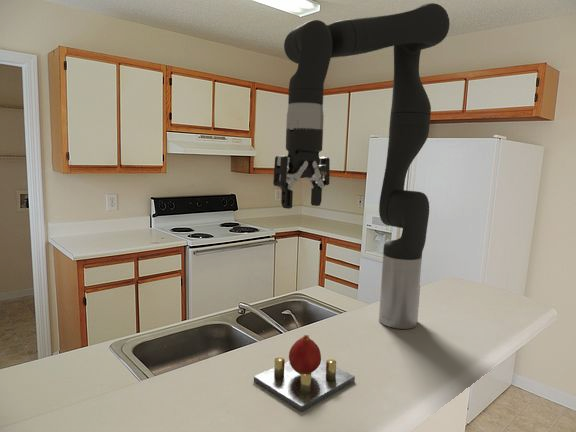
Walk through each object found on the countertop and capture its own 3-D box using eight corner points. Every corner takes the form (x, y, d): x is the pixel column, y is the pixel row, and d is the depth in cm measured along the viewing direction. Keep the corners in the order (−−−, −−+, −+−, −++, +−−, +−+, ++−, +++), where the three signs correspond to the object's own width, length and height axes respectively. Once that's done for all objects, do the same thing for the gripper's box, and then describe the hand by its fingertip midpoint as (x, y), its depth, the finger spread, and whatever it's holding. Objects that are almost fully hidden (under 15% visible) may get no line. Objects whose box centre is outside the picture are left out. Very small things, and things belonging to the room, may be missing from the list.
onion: (283, 370, 77) (284, 329, 76) (311, 365, 79) (313, 326, 78) (295, 387, 71) (297, 343, 70) (325, 381, 73) (327, 338, 72)
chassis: (307, 357, 84) (307, 338, 84) (354, 381, 76) (355, 360, 75) (253, 381, 75) (254, 360, 74) (301, 412, 66) (302, 388, 65)
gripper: (314, 130, 92) (311, 203, 94) (266, 125, 82) (264, 207, 84) (341, 129, 86) (337, 206, 89) (292, 124, 76) (289, 211, 79)
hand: (301, 206), depth 86 cm, fingers open, 8 cm apart
